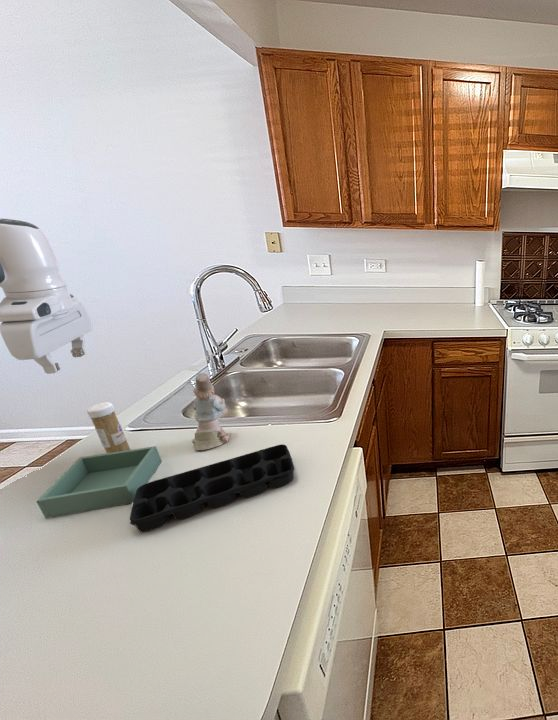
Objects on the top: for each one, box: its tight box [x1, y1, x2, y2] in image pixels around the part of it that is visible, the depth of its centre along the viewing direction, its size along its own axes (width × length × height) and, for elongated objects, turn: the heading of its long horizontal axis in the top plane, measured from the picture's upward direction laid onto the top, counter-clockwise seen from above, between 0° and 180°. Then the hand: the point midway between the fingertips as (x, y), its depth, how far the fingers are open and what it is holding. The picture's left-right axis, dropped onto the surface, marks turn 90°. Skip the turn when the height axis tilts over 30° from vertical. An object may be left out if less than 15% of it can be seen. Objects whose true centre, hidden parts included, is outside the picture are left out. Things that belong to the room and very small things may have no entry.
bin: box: [36, 445, 162, 519], centre depth 86 cm, size 15×15×4 cm
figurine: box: [191, 372, 230, 451], centre depth 99 cm, size 9×8×20 cm
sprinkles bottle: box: [86, 401, 132, 454], centre depth 95 cm, size 5×5×14 cm
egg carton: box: [129, 443, 296, 533], centre depth 85 cm, size 18×30×4 cm, turn 135°
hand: (67, 363), depth 87 cm, fingers open, 8 cm apart
